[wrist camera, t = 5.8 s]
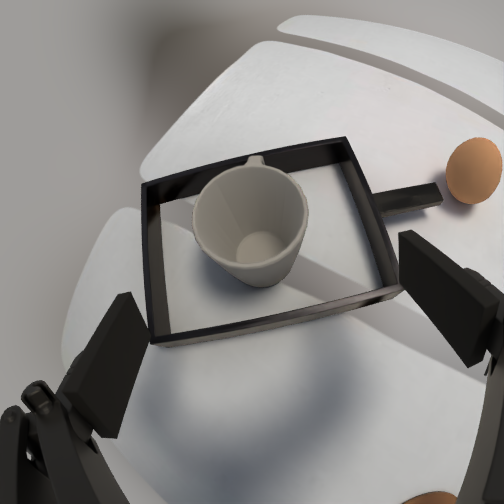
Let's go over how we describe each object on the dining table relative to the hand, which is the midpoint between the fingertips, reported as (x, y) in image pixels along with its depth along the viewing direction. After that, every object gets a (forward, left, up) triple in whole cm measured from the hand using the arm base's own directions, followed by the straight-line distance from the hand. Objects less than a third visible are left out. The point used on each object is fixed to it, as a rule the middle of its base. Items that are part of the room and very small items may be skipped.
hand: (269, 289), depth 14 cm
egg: (+22, +8, -12) cm, 26 cm away
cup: (0, +7, -12) cm, 14 cm away
